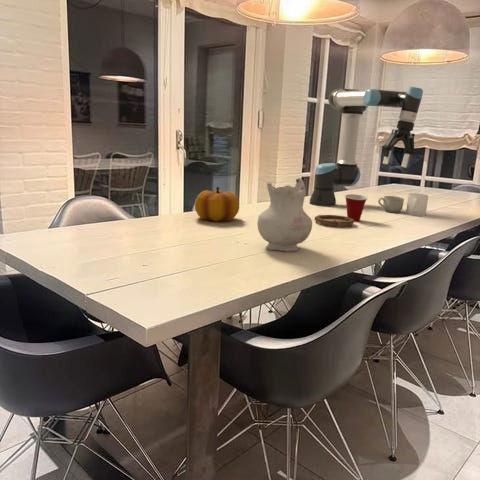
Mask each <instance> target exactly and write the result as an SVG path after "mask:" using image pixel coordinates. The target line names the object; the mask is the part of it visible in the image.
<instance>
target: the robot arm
mask: <svg viewBox="0 0 480 480" xmlns="http://www.w3.org/2000/svg"><path fill="white" fill-rule="evenodd" d="M423 94H424V90H423V88H421V87H417V86H408V87H407V88H406V90H405V91H399V90H397V91H396V90H387V89H385V90H384V89H376V88H372V89H371V88H369V89H364V90H361V89H352V88H341V87H340V88H336V89H332V91H330V94H329V95H328V104H329V106H330V107H331V108H332V109H333V110H337V111H341V115H342V116H343V125H342V135H341V145H340V155H339V159H338V161H336V163H334V162H331V163H330V162H329V163H326V162H325V163H319V164H317V165H315V169H314V180H313V181H314V182H313V191H312V193H311V195H310V198H309V204H310V205H313V206H320V207H334V206H336V205H337V200H336V196H335V195H336V194H335V187H353V186H356V184H357V183H358V182H359V181H360V178H361V169H360V167H358V162H356V152H357V142H358V135H359V134H358V133H359V127H360V126H359V125H360V118H361V117H362V116H363V114H364V112H365V111H367V108H368V107H384V108H385V107H386V108H395V109H397V108H398V109H399V108H400V113H399V116H398V121H397V124H396V129H395V128H393V129H392V130H391V131H390V135H389V136H388V138H387V139H386V141H385V142H384V144H383V145H382V147H383V149H384V150H385V151H384V155H383V156H384V157H383V159H382V164H384V165H389V163H390V159H391V155H392V149H393V148H394V147H395V146H396V145H397V144H398V142H400V141H401V142H402V143H403V146H404V150H405V153H404V155H403V157H402V161H401V165H400V167H402V168H406V169H407V167H408V163H409V161H410V158H411V156H412V155H413V154H415V133H411V132H412V131H413V130H414V127H415V122H416V119H417V116H418V112H419V109H420V105H421V102H422V99H423V98H422V97H423Z"/></svg>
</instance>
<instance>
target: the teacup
mask: <svg viewBox="0 0 480 480" xmlns="http://www.w3.org/2000/svg"><path fill="white" fill-rule="evenodd" d="M381 200H382V201H383V203H381ZM404 201H405V198H403V197H400V196H396V195H395V196H394V195H385V196H384V197H379V198H378V200H377V203H378V204H379V206H381V207H382V208H383V210H385V212H387V213H393V214H394V213H397V214H398V213H399V212H400V211H402V210H403V208H404V207H403V206H404V203H405V202H404Z"/></svg>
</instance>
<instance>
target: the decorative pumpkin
mask: <svg viewBox="0 0 480 480" xmlns="http://www.w3.org/2000/svg"><path fill="white" fill-rule="evenodd" d="M194 201H195V202H194V209H195V213H196V214H197V216H199V218H200V219H203V220H205V221H211V222H212V221H213V222H215V223H217V222H221V221H223V222H229V221H231V220H233V219H234V218H235V217H236V216H237V215H238V212H239V211H240V200H239V199H238V197H237V195H236V194H235V193H234V192H233V191H228V190H227V191H222V190H220V187H218V186H217V187H216V190H213V191H211V190H202V191H201V192H200V193H199V194H198V195H197V197H196V199H195V200H194Z"/></svg>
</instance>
